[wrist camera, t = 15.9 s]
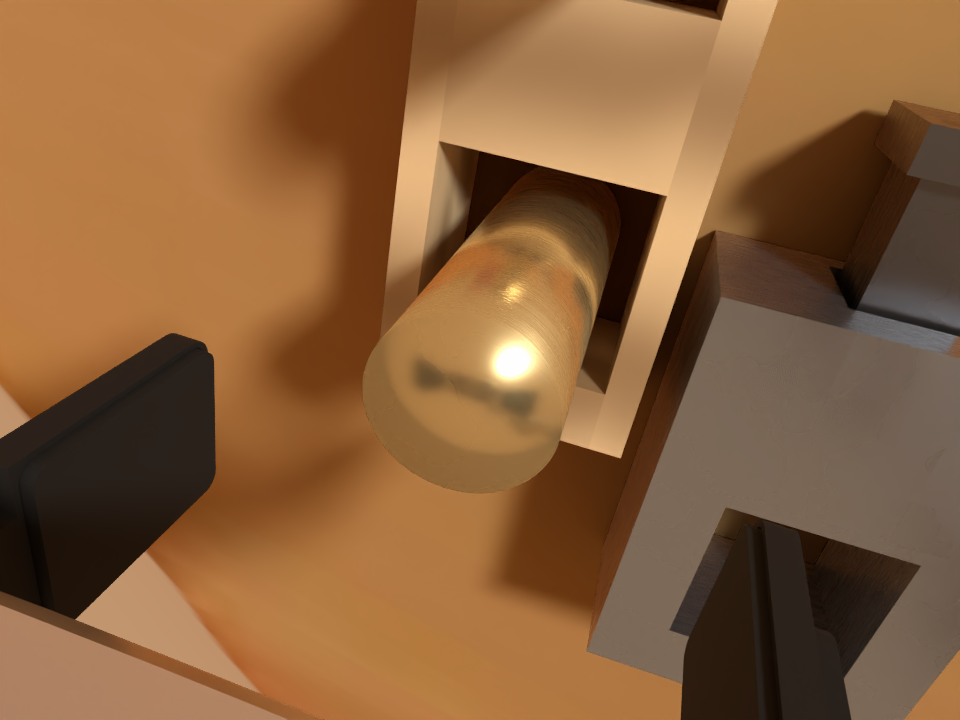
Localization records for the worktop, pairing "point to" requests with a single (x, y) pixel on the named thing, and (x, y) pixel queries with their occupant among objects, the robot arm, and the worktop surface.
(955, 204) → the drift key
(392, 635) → the worktop surface
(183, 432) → the robot arm
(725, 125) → the rack
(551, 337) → the gold cylinder
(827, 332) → the socket block
